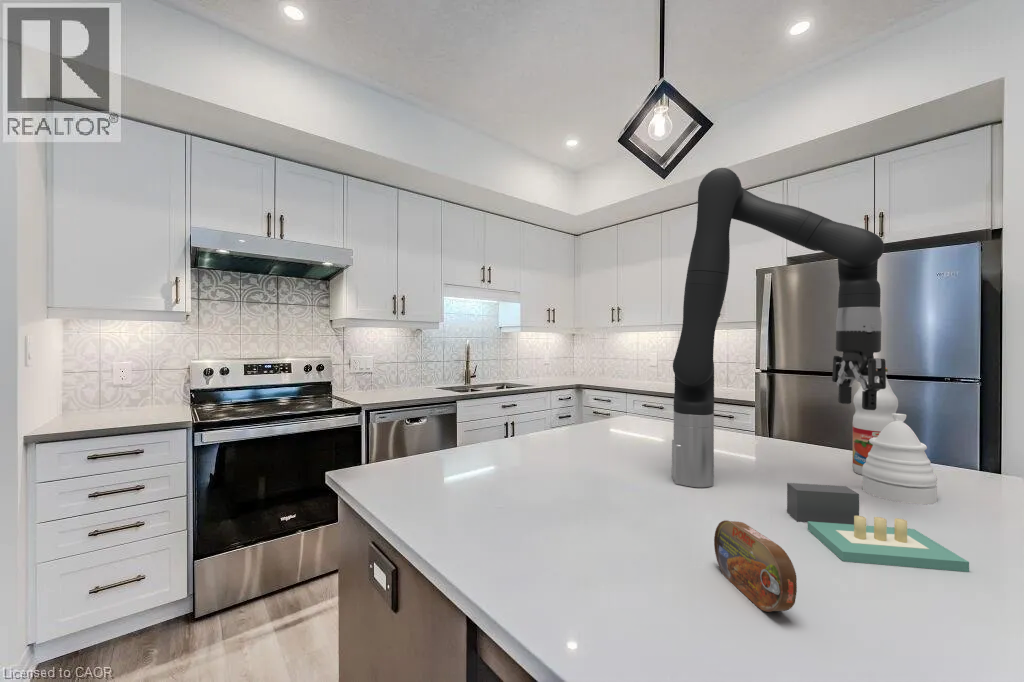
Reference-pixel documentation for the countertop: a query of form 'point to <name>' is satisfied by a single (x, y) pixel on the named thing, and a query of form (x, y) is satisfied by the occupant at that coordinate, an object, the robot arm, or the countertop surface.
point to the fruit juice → (870, 422)
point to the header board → (885, 545)
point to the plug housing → (822, 503)
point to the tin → (755, 566)
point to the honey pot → (899, 466)
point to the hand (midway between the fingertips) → (856, 406)
